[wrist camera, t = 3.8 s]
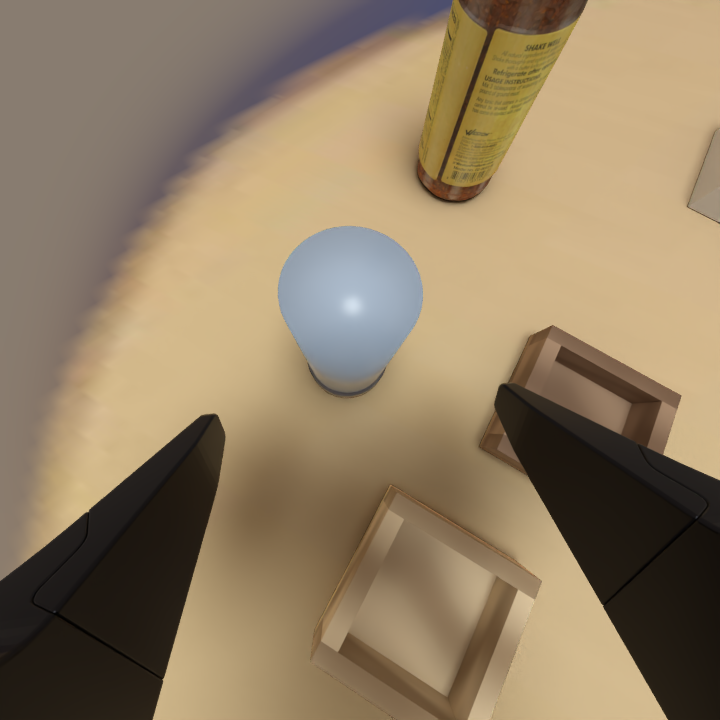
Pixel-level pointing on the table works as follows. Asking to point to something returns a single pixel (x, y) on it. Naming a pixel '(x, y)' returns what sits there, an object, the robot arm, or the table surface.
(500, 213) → the table surface
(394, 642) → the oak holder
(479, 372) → the table surface
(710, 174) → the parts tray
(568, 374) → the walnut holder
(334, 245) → the light bulb
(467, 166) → the sauce bottle
